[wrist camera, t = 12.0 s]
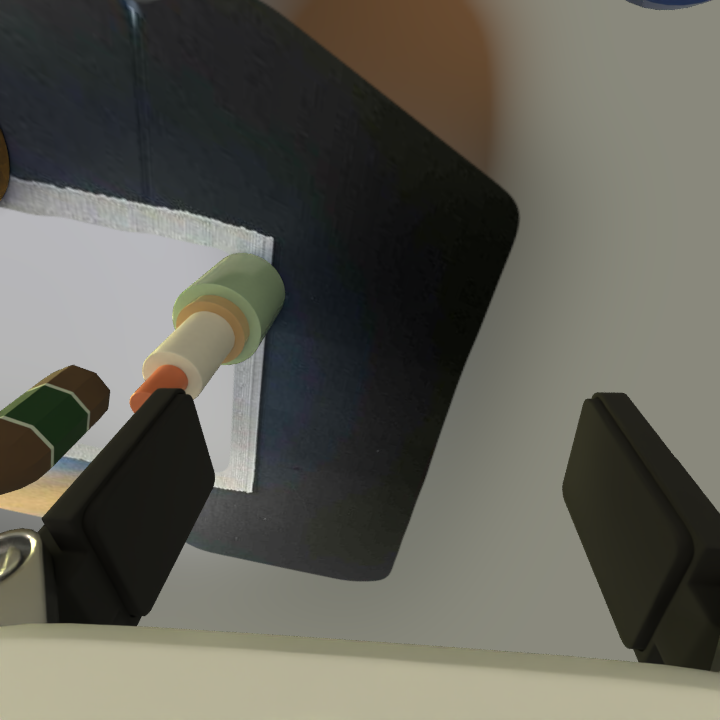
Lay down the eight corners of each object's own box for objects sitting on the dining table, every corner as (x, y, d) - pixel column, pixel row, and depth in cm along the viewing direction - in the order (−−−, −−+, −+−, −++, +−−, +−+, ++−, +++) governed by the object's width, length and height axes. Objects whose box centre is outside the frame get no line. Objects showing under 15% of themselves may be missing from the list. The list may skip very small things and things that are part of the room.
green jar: (203, 253, 45) (152, 290, 36) (279, 252, 44) (246, 289, 35) (219, 324, 49) (177, 373, 40) (289, 323, 48) (262, 373, 39)
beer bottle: (97, 423, 58) (-74, 598, 37) (42, 387, 56) (-172, 553, 35) (124, 390, 55) (-47, 563, 34) (68, 351, 52) (-152, 510, 32)
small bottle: (178, 311, 36) (104, 378, 27) (229, 310, 36) (170, 378, 27) (191, 356, 38) (126, 432, 29) (239, 356, 38) (188, 434, 29)
